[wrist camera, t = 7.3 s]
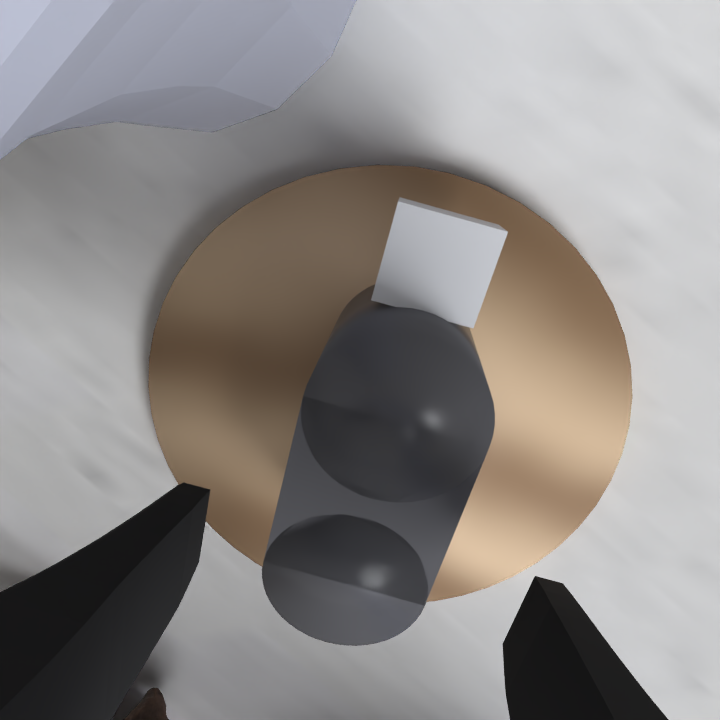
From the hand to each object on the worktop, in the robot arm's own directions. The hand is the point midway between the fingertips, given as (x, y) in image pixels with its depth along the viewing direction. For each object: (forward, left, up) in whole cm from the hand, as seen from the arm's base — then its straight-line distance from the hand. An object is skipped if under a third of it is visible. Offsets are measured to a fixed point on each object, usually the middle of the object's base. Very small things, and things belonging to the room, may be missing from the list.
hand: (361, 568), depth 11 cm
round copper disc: (0, 0, -8) cm, 8 cm away
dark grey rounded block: (+1, 0, -7) cm, 7 cm away
